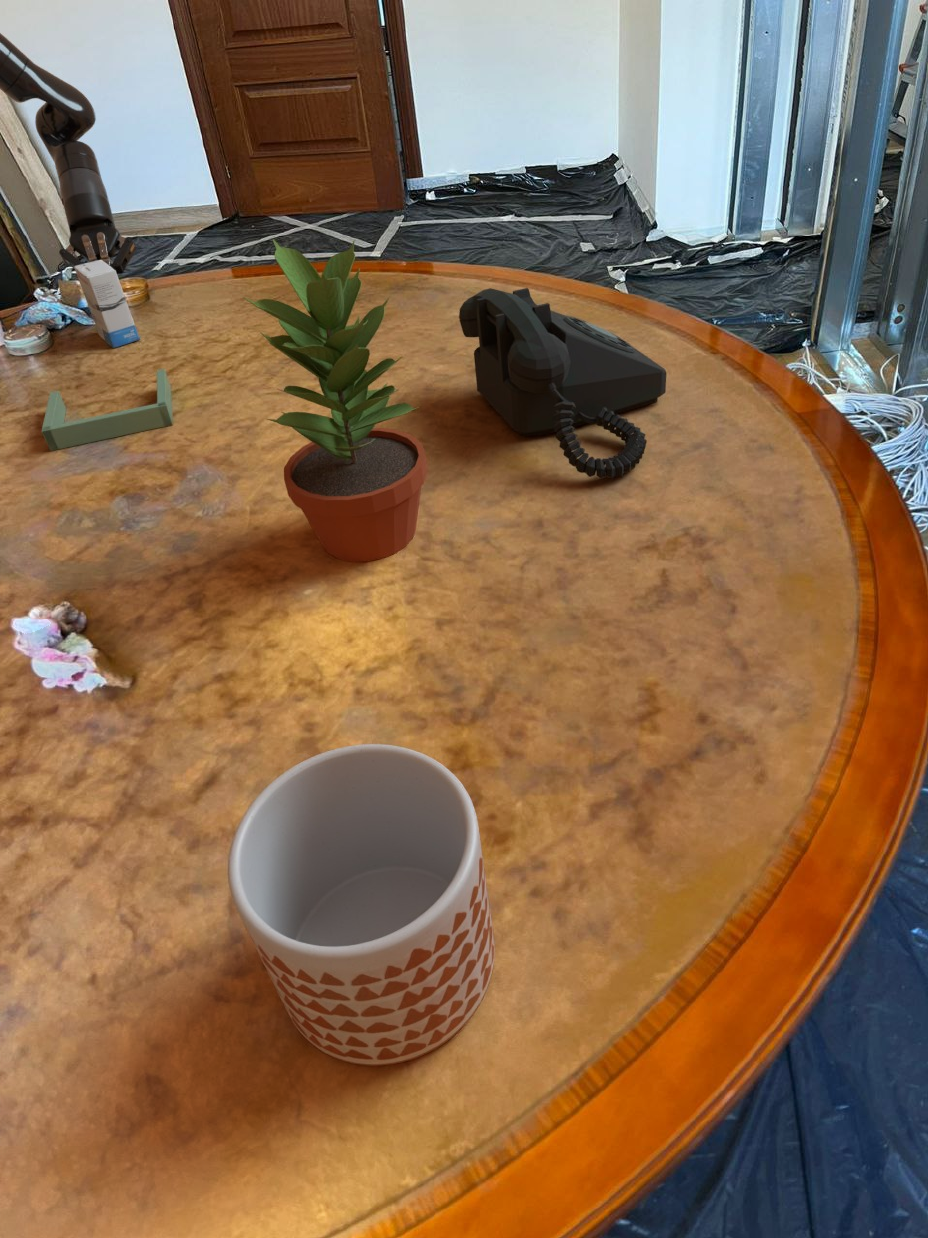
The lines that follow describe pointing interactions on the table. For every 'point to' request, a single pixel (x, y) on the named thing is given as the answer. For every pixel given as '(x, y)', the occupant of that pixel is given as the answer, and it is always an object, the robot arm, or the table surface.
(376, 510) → the potted plant
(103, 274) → the ink box
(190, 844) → the table surface
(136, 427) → the bracket
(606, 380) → the rotary telephone
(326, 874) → the planter
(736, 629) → the table surface
